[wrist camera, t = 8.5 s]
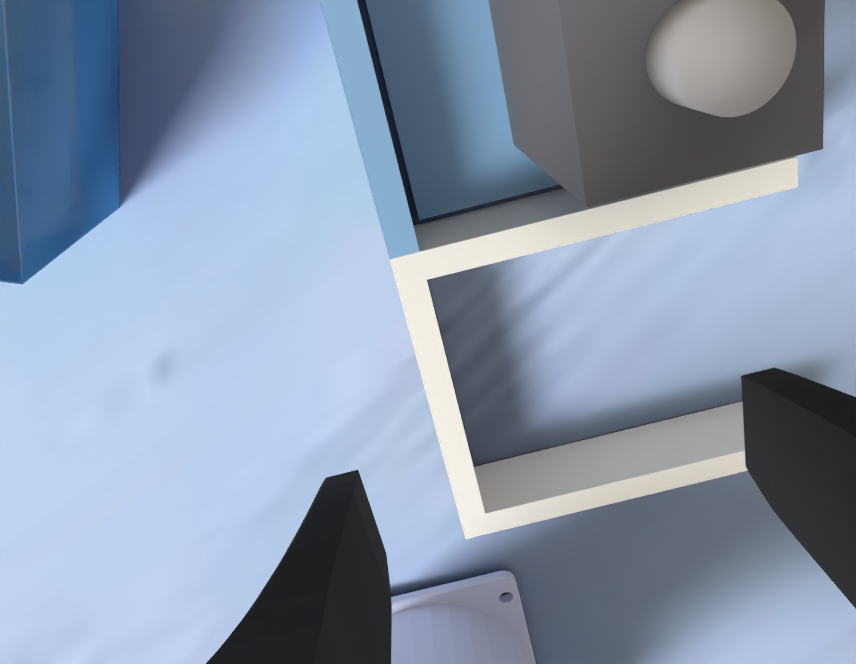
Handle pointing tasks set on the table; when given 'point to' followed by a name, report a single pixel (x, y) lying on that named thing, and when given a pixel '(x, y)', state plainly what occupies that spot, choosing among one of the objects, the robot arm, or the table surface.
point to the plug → (659, 88)
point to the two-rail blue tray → (506, 249)
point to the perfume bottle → (56, 127)
